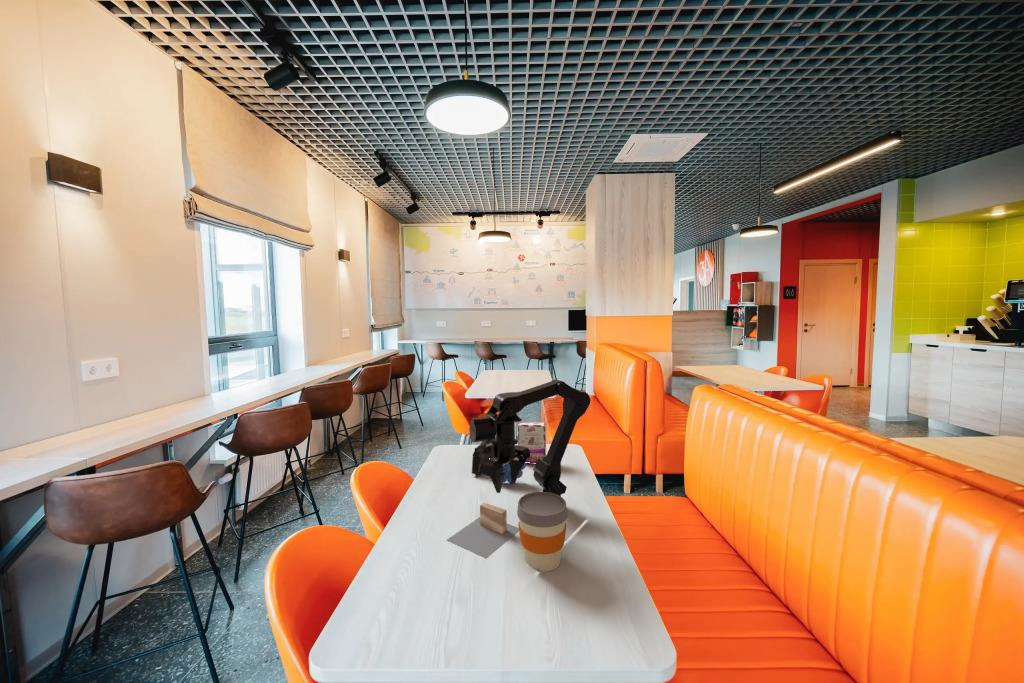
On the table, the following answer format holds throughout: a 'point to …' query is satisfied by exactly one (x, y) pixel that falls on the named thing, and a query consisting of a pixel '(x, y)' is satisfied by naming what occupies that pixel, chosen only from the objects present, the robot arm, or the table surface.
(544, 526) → the reusable coffee cup
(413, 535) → the table surface
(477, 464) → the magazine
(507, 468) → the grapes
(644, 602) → the table surface
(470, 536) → the slate mat
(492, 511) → the maple tile
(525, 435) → the candy bar box
